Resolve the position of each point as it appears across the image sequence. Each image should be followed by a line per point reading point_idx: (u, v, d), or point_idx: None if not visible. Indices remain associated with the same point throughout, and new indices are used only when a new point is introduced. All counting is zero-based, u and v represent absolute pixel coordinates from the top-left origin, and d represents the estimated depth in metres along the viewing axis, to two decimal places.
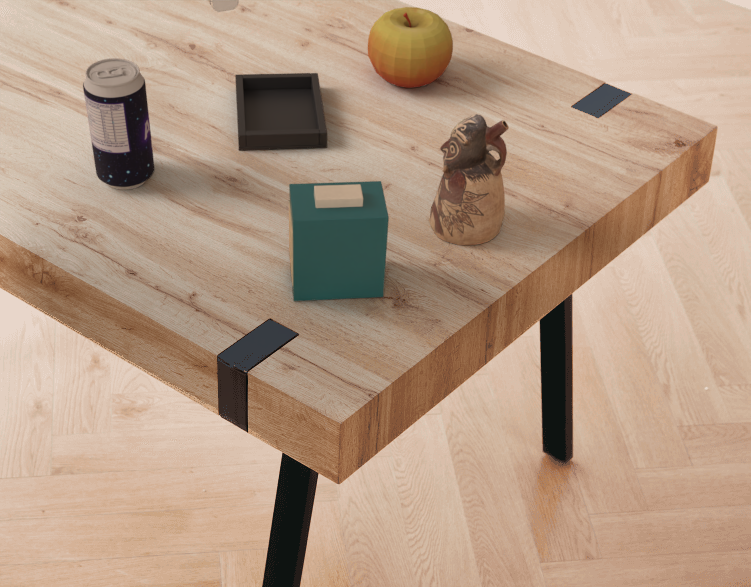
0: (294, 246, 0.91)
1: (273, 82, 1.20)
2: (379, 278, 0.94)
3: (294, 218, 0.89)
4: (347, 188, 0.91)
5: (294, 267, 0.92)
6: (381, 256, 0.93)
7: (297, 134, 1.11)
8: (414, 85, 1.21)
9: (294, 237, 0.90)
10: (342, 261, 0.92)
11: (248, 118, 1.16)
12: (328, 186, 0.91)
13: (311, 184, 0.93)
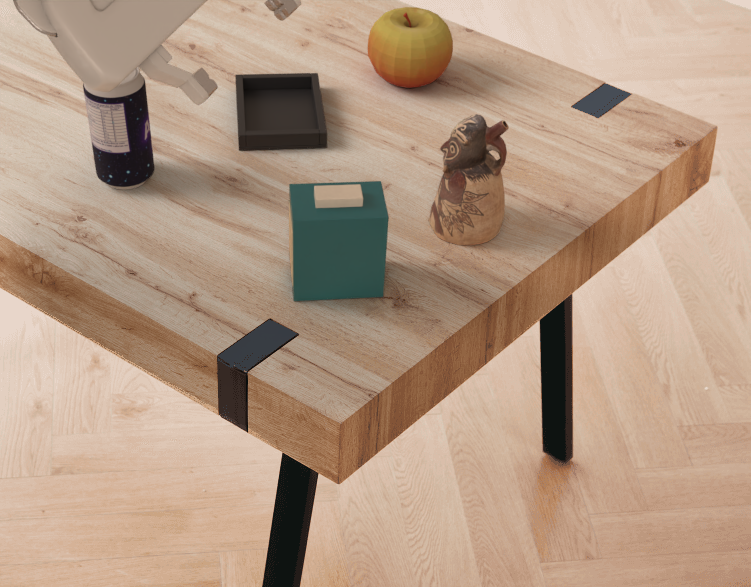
0: (294, 246, 0.91)
1: (273, 82, 1.20)
2: (379, 278, 0.94)
3: (294, 218, 0.89)
4: (347, 188, 0.91)
5: (294, 267, 0.92)
6: (381, 256, 0.93)
7: (297, 134, 1.11)
8: (414, 85, 1.21)
9: (294, 237, 0.90)
10: (342, 261, 0.92)
11: (248, 118, 1.16)
12: (328, 186, 0.91)
13: (311, 184, 0.93)
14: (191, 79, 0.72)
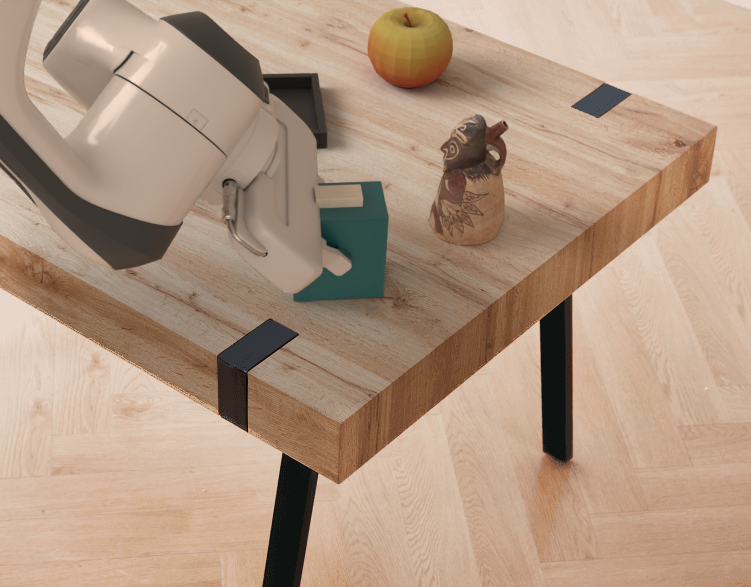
0: None
1: (273, 82, 1.20)
2: (379, 278, 0.94)
3: None
4: (347, 188, 0.91)
5: None
6: (381, 256, 0.93)
7: None
8: (414, 85, 1.21)
9: None
10: None
11: None
12: (328, 186, 0.91)
13: None
14: (340, 253, 0.90)
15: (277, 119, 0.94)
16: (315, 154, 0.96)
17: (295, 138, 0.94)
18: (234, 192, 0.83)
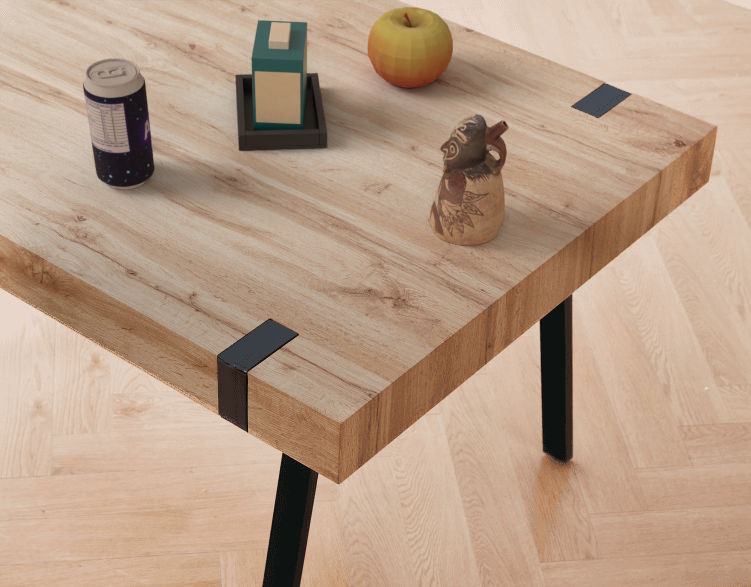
0: (303, 83, 1.10)
1: None
2: None
3: (300, 59, 1.08)
4: (276, 27, 1.11)
5: (303, 103, 1.11)
6: None
7: (297, 134, 1.11)
8: (414, 85, 1.21)
9: (303, 75, 1.09)
10: (305, 78, 1.14)
11: (248, 118, 1.16)
12: (271, 34, 1.10)
13: (255, 48, 1.09)
14: None
15: None
16: None
17: None
18: None
